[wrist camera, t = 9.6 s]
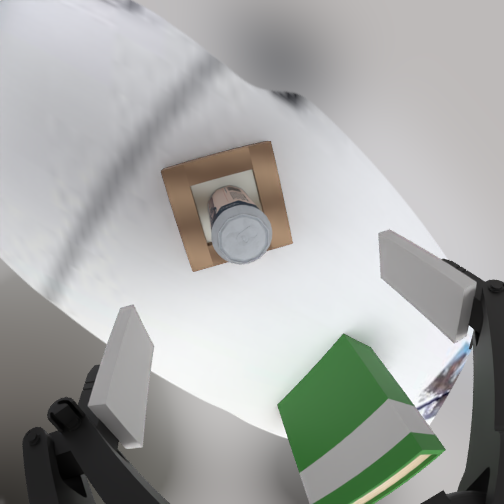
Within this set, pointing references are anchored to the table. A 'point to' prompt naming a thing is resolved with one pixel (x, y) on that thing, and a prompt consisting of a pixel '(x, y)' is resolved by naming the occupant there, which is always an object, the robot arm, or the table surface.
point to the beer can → (238, 226)
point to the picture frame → (214, 177)
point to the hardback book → (354, 428)
